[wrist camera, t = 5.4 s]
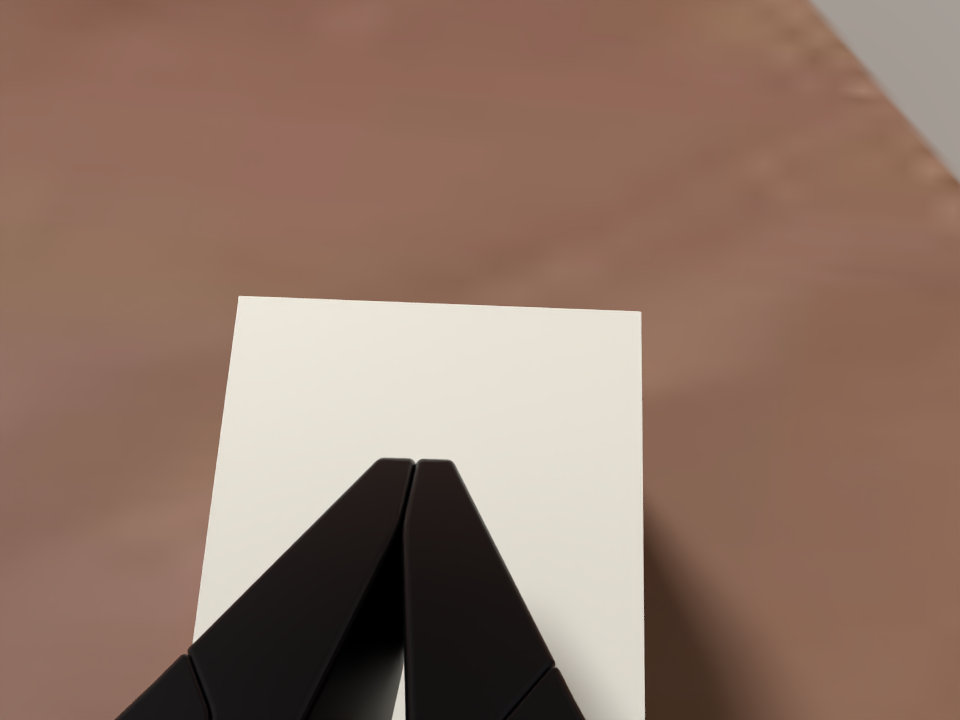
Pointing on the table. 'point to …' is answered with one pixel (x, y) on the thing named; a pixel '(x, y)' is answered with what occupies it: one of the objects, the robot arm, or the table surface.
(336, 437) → the plain cream block
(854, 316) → the table surface
